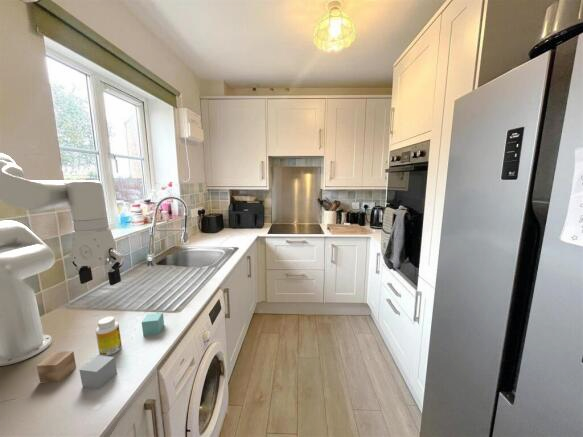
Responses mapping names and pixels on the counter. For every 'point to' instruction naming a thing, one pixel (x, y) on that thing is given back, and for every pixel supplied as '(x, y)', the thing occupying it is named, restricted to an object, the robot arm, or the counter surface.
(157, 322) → the teal block
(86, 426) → the counter surface
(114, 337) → the supplement bottle
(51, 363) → the walnut block
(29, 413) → the counter surface
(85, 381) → the slate block
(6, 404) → the counter surface
